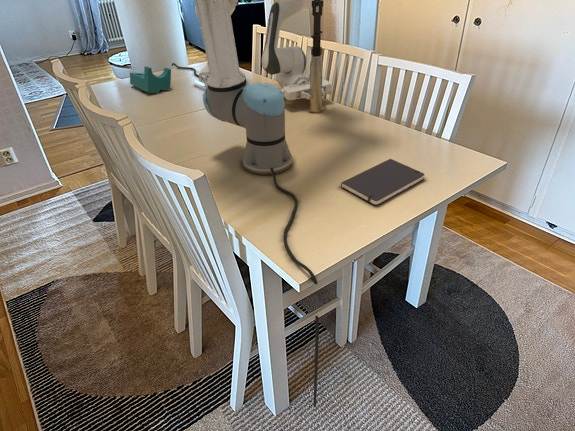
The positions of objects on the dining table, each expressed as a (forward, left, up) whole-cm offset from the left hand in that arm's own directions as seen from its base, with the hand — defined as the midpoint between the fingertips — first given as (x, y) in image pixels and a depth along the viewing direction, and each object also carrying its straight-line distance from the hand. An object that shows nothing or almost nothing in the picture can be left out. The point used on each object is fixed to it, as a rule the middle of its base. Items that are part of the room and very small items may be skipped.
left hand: (317, 95), depth 157 cm
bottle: (-1, 0, -6) cm, 6 cm away
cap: (-1, 0, +17) cm, 17 cm away
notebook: (+47, -35, -6) cm, 58 cm away
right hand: (-1, 0, +15) cm, 15 cm away
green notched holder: (-80, -19, -6) cm, 82 cm away
